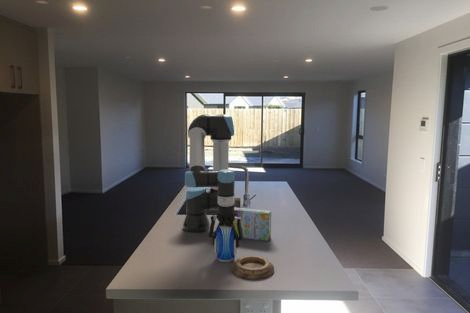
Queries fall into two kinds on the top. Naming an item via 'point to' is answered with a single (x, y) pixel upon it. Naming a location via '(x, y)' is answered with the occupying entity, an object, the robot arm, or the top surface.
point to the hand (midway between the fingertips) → (225, 253)
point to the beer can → (225, 243)
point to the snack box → (254, 223)
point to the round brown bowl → (252, 267)
